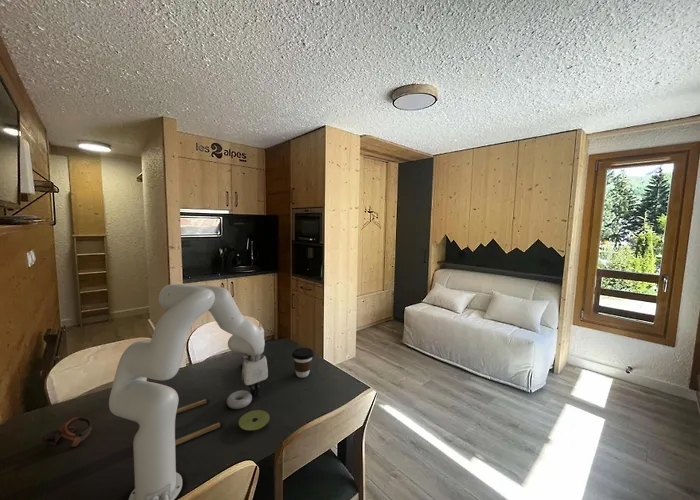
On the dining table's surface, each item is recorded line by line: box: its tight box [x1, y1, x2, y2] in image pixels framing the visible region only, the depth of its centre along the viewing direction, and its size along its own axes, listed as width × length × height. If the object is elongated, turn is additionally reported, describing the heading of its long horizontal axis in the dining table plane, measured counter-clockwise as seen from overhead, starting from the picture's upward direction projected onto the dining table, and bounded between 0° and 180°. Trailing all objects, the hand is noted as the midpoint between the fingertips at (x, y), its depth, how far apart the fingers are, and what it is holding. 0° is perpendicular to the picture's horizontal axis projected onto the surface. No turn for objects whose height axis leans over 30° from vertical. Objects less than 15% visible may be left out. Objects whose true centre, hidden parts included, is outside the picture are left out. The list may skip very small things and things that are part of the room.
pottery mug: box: [41, 416, 93, 448], centre depth 98 cm, size 12×10×8 cm
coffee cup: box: [291, 347, 315, 378], centre depth 146 cm, size 11×11×12 cm
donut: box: [226, 390, 253, 410], centre depth 122 cm, size 10×4×10 cm
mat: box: [238, 409, 271, 431], centre depth 110 cm, size 11×11×2 cm
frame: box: [175, 398, 221, 447], centre depth 109 cm, size 19×17×1 cm
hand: (254, 395), depth 127 cm, fingers closed
